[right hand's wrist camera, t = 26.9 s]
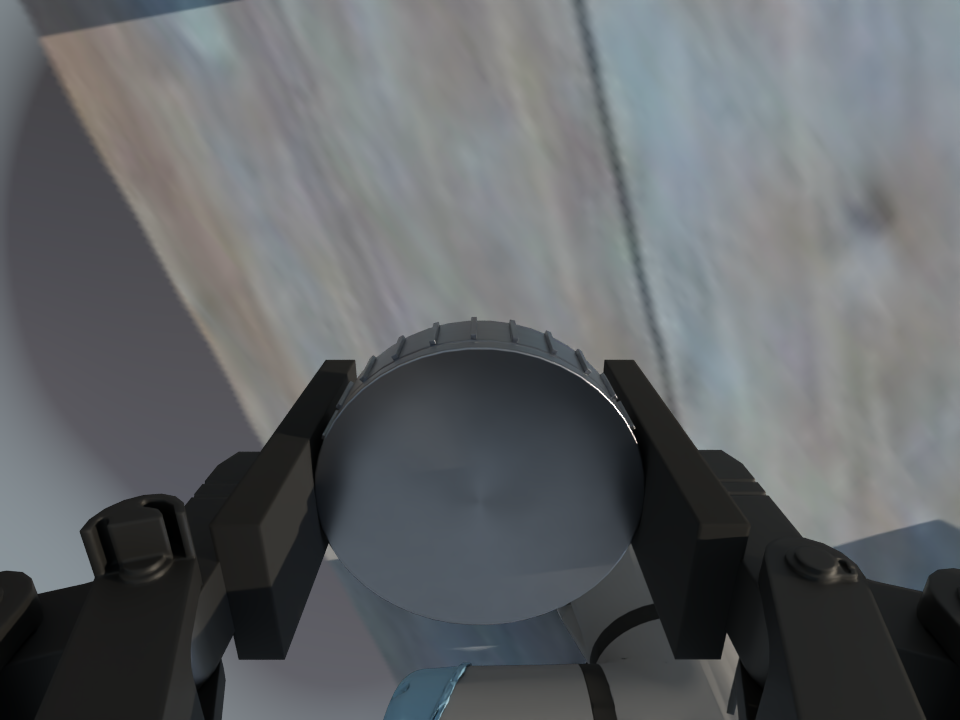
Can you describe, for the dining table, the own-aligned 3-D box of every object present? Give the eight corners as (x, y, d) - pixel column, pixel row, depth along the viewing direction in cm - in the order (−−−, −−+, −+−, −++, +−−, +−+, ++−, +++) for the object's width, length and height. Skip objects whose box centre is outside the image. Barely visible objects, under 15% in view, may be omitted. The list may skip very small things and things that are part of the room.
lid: (397, 602, 14) (387, 658, 12) (279, 372, 11) (248, 406, 10) (655, 533, 13) (679, 584, 11) (585, 272, 11) (603, 293, 9)
